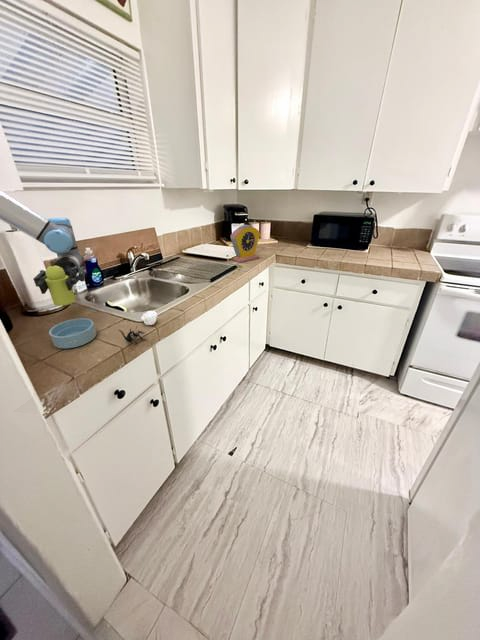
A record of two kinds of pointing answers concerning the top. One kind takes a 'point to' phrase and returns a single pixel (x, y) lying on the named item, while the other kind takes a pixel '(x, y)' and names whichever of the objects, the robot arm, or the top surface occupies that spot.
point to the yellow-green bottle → (58, 286)
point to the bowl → (72, 333)
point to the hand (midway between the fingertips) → (55, 287)
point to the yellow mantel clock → (245, 243)
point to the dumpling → (149, 317)
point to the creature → (131, 335)
